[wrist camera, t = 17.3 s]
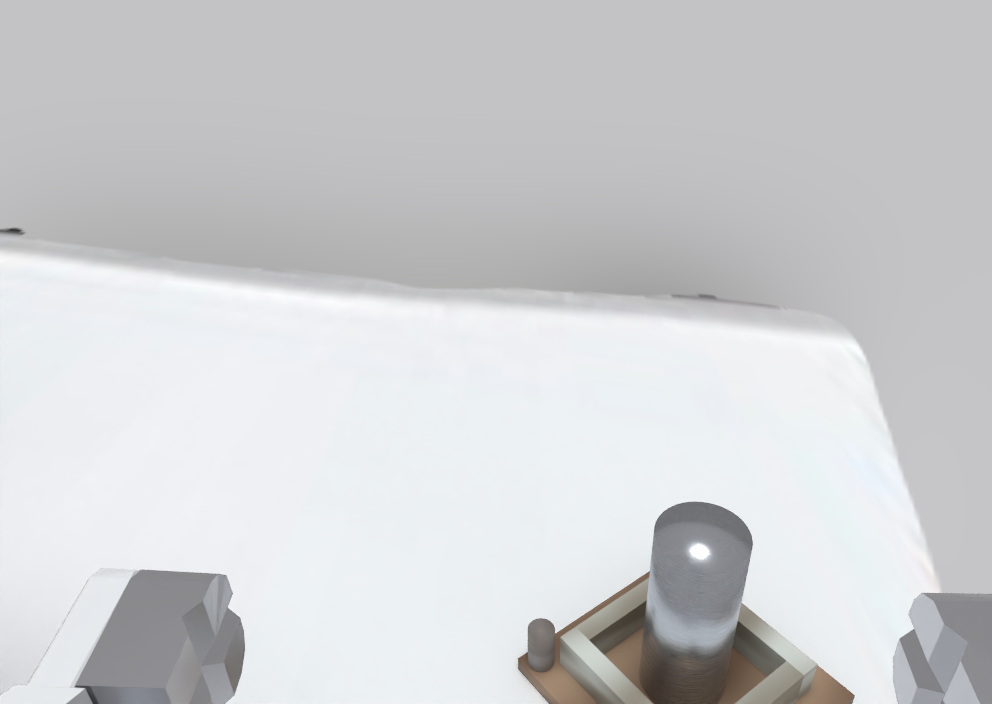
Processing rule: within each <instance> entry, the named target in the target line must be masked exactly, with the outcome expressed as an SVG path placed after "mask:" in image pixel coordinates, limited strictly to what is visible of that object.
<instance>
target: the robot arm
mask: <svg viewBox="0 0 992 704" xmlns="http://www.w3.org/2000/svg"><path fill="white" fill-rule="evenodd" d="M232 594H233V593H232V590H231V587H230V584H229V581H228V579H227V576H226V575H222V574H209V573H191V572H173V571H155V570H131V569H108V568H101V569H99V570H98V571H97V572H96V573H95V574H93V575H92V576H91V577H90V578H89V579H88V581H87V582H86V584H85V586H84V587H83V589H82V591H81V593H80V594H79V596H78V598H77V599H76V601H75V603H74V605H73V606H72V608H71V610H70V612H69V613H68V615H67V617H66V618H65V620H64V622H63V624H62V625H61V627H60V629H59V630H58V632H57V634H56V636H55V637H54V639H53V641H52V643H51V644H50V646H49V648H48V649H47V651H46V653H45V655H44V656H43V658H42V660H41V661H40V663H39V665H38V667H37V668H36V670H35V672H34V673H33V675H32V677H31V679H30V680H29V682H28V684H27V685H14V686H13V687H11V688H10V689H8V690H7V691H6V692H4V693H3V694H2V695H0V704H225V703H226V702H227V701H228V700H229V699H231V698H232V697H233V696H234V694H235V691H236V688H237V685H238V682H239V679H240V676H241V673H242V666H243V659H244V652H245V642H244V630H243V627H242V623H241V619H240V617H239V616H237V615H236V614H235V613H234V612H232V611H231V610H230V609H228V608H227V607H228V605H229V602H230V599H231V597H232ZM909 617H910V619H911V622H912V624H913V627H914V629H913V630H912V631H910V632H909V633H907V634H906V635H904V636H903V637H901V638H900V639H899V641H898V644H897V648H896V651H895V654H894V657H893V683H894V688H895V693H896V698H897V702H898V704H992V594H954V593H921V594H920V595H919V596H918V597H917V598H915V599H914V601H913V604H912V606H911V609H910V611H909Z"/></svg>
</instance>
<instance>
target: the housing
mask: <svg viewBox="0 0 992 704" xmlns="http://www.w3.org/2000/svg"><path fill="white" fill-rule="evenodd" d="M649 575H650V571H649V572H648V573H646V574H645V575H643V576H642V577H640V578H639V579H637V580H636V581H634V582H633V583H631V584H630V585H628V586H627V587H625V588H624V589H622V590H621V591H619V592H618V593H616V594H615V595H613V596H612V597H610V598H609V599H607V600H606V601H604V602H603V603H601V604H600V605H598V606H597V607H595V608H594V609H592V610H591V611H589V612H588V613H586V614H584V615H583V616H581V617H580V618H578V619H577V620H575V621H574V622H572V623H571V624H569V625H568V626H566V627H565V628H563V629H562V630H560V631H559V632H557V633H556V634H555V628H554V625H553V624H552V623H551V622H550V621H549V620H547V619H542V618H540V619H535V620H533V621H532V622H531V623H530V624H529V626H528V652H527V653H526V654H524V655H523V656H521V657H520V658H518V669H519V670H520V671H521V672H522V673H523V674H524V675H525V677H526V678H527V679H528V680H529V681H530V682H531V683H532V684H533V686H534V687H535V688H536V689H537V690H538V691H539V692H540V693H541V694H542V696H543V697H544V698H545V699H546V700H547V701H548V702H549V703H550V704H655V703H654V702H653V701H652V700H651V699H650V698H649V697H648V696H647V694H646V693H645V691H644V689H643V687H642V685H641V682H640V677H639V670H640V660H641V651H642V641H643V632H644V623H645V613H646V604H647V594H648V585H649ZM854 696H855V695H853V694H852V693H851V692H850V691H849V690H847V689H846V688H845V687H844V686H842V685H841V684H840V683H839V682H837V681H836V680H835V679H834V678H832V677H831V676H830V675H829V674H828V673H826V672H825V671H824V670H823V669H821V668H820V667H819V666H818V665H817V663H815V662H814V661H813V660H812V659H810V658H809V657H808V656H807V655H805V654H804V653H803V652H802V651H800V650H799V649H798V648H797V647H796V646H794V645H793V644H792V643H791V642H789V641H788V640H787V639H786V638H784V637H783V636H782V635H781V634H779V633H778V632H777V631H776V630H774V629H773V628H772V627H771V626H769V625H768V624H767V623H766V622H765V621H763V620H762V619H761V618H760V617H758V616H757V615H756V614H755V613H753V612H752V611H751V610H750V609H748V608H747V607H746V606H745V605H743V604H742V603H741V607H740V612H739V617H738V622H737V627H736V632H735V637H734V642H733V647H732V652H731V657H730V662H729V667H728V672H727V677H726V682H725V687H724V692H723V695H722V697H721V699H720V701H719V702H718V703H717V704H852V702H853V699H854Z"/></svg>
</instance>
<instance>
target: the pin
mask: <svg viewBox="0 0 992 704" xmlns="http://www.w3.org/2000/svg"><path fill="white" fill-rule="evenodd" d="M752 545H753V542H752V536H751V533H750V531H749V529H748V527H747V526H746V524H745V523H744V522H743V521H742V520H741V519H740V518H739V517H738V516H736V515H735V514H734V513H732V512H731V511H729V510H727V509H725V508H723V507H720V506H717V505H714V504H710V503H704V502H686V503H681V504H677V505H675V506H672V507H670V508H668V509H667V510H666V511H664V512H663V513H662V514H661V515H660V516H659V518H658V519H657V521H656V524H655V528H654V538H653V547H652V556H651V566H650V575H649V585H648V594H647V604H646V613H645V623H644V632H643V641H642V651H641V660H640V670H639V677H640V682H641V685H642V687H643V689H644V691H645V693H646V694H647V696H648V697H649V698H650V699H651V700H652V701H653V702H654V703H655V704H717V703H718V702H719V701H720V699H721V697H722V695H723V692H724V687H725V682H726V677H727V672H728V667H729V662H730V657H731V652H732V647H733V642H734V637H735V632H736V627H737V622H738V617H739V612H740V607H741V602H742V596H743V591H744V586H745V581H746V576H747V571H748V566H749V561H750V556H751V551H752Z"/></svg>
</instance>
